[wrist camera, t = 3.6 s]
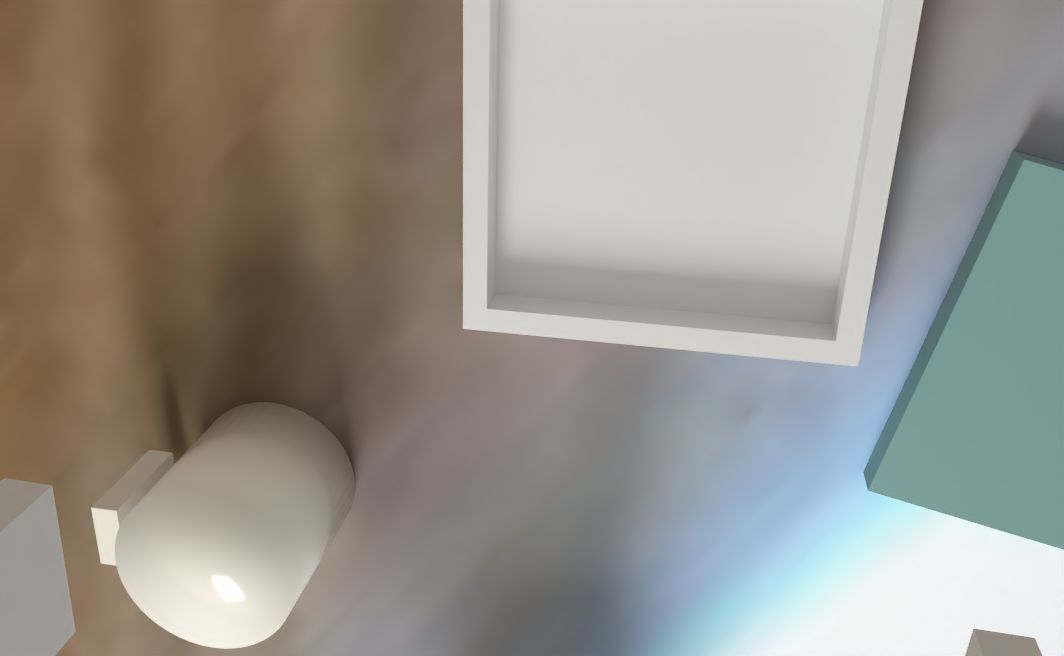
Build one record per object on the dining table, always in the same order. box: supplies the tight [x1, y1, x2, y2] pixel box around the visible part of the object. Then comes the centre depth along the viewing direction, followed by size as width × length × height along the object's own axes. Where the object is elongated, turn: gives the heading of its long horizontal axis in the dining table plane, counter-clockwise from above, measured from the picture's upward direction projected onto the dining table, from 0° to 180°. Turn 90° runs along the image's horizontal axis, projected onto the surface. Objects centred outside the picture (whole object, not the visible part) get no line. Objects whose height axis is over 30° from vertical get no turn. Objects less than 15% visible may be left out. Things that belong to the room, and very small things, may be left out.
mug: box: [91, 402, 355, 648], centre depth 46 cm, size 10×8×8 cm
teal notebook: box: [864, 150, 1064, 549], centre depth 40 cm, size 10×15×2 cm, turn 166°
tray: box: [463, 0, 924, 366], centre depth 39 cm, size 16×16×2 cm
